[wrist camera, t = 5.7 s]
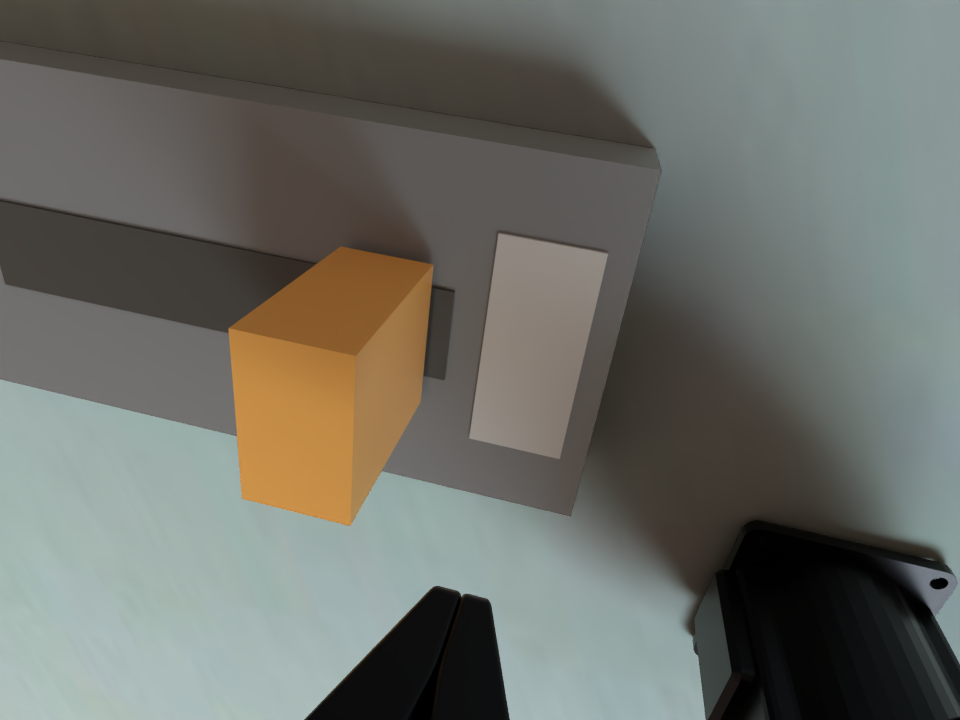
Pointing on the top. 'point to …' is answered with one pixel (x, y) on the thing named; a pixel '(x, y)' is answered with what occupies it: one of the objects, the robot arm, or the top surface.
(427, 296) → the handle
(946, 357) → the top surface
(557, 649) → the top surface
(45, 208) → the panel
